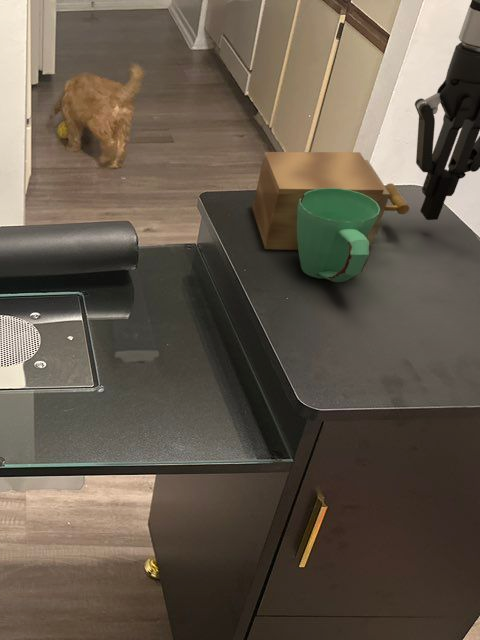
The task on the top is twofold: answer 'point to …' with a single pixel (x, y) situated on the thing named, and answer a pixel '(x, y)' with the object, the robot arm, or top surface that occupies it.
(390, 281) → the top surface
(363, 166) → the cabinet
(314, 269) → the mug
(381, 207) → the drawer
